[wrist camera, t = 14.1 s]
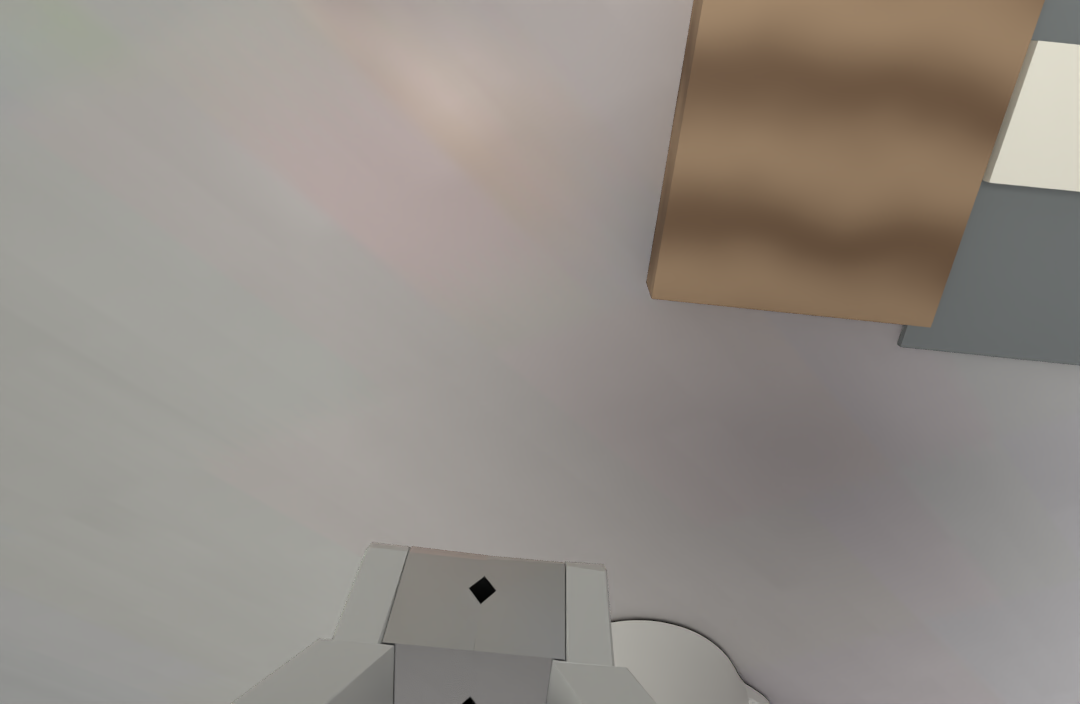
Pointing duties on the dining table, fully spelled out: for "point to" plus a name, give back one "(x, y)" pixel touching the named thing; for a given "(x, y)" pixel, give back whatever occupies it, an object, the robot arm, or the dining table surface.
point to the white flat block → (1041, 122)
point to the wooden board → (832, 151)
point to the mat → (1015, 261)
